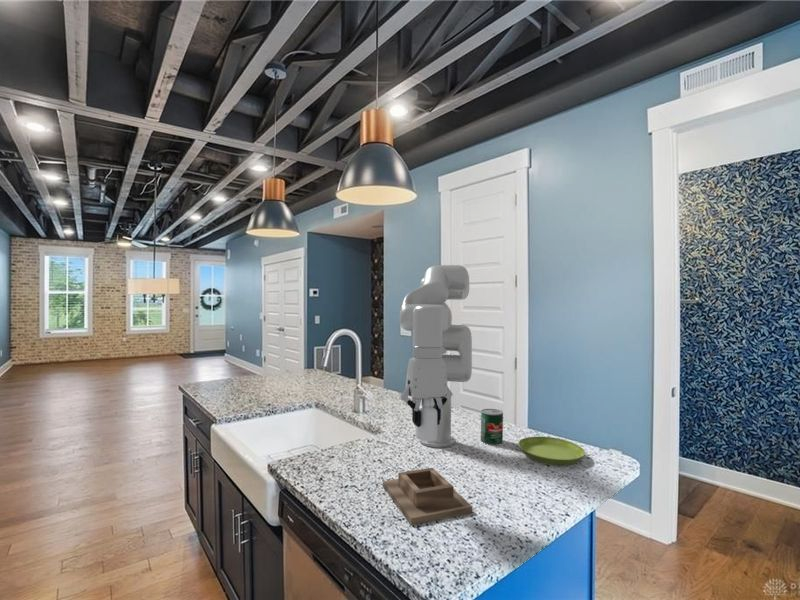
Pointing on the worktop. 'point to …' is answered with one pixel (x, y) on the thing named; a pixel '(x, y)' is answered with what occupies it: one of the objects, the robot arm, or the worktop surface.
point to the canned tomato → (492, 426)
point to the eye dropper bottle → (427, 422)
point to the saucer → (551, 450)
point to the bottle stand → (425, 496)
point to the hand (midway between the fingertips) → (426, 423)
